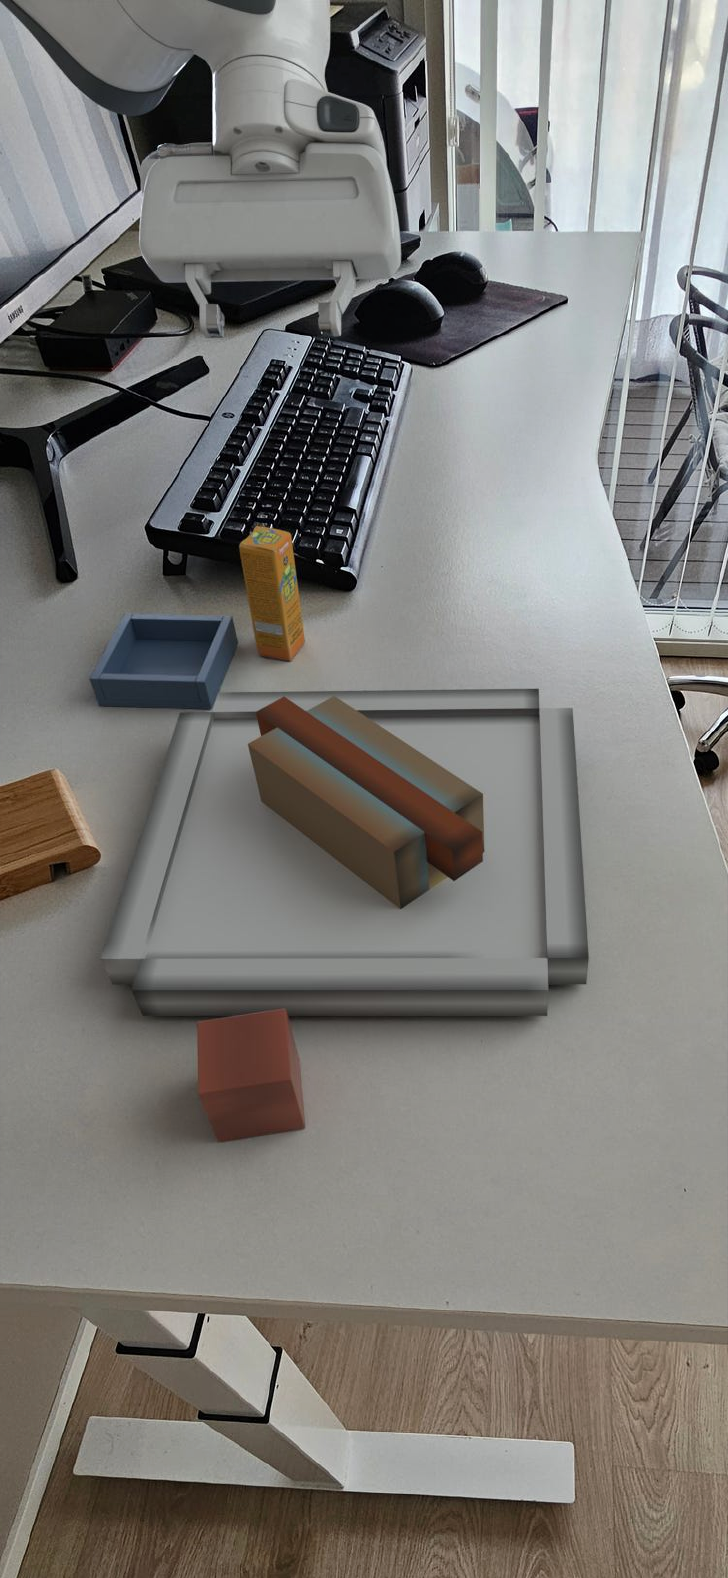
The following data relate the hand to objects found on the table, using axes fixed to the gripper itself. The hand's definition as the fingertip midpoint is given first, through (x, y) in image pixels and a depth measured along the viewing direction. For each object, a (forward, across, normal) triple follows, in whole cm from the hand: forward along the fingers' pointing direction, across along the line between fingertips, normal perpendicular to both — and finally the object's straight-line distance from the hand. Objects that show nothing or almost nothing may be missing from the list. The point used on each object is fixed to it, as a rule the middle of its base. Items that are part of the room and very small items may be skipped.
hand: (270, 333), depth 82 cm
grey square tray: (+41, +10, -12) cm, 44 cm away
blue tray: (+26, -9, +3) cm, 27 cm away
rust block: (+56, +7, -27) cm, 62 cm away
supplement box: (+23, 0, +6) cm, 24 cm away
